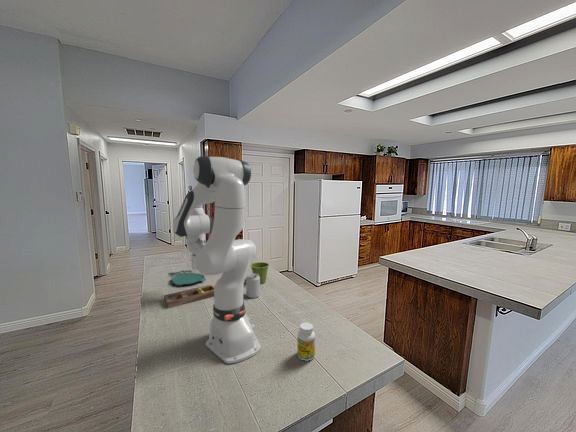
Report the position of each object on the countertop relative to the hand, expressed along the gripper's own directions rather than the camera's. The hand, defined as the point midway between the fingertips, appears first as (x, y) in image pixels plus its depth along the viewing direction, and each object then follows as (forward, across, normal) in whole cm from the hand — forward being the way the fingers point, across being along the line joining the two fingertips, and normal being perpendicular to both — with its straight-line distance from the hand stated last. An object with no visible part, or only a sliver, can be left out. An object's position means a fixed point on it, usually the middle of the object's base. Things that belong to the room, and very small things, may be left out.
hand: (197, 262), depth 132 cm
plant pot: (+19, -2, -38) cm, 42 cm away
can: (+19, -17, -24) cm, 36 cm away
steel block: (+4, 0, 0) cm, 4 cm away
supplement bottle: (+20, -71, -16) cm, 75 cm away
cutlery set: (+20, +31, -2) cm, 37 cm away
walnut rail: (+19, 0, +3) cm, 19 cm away
